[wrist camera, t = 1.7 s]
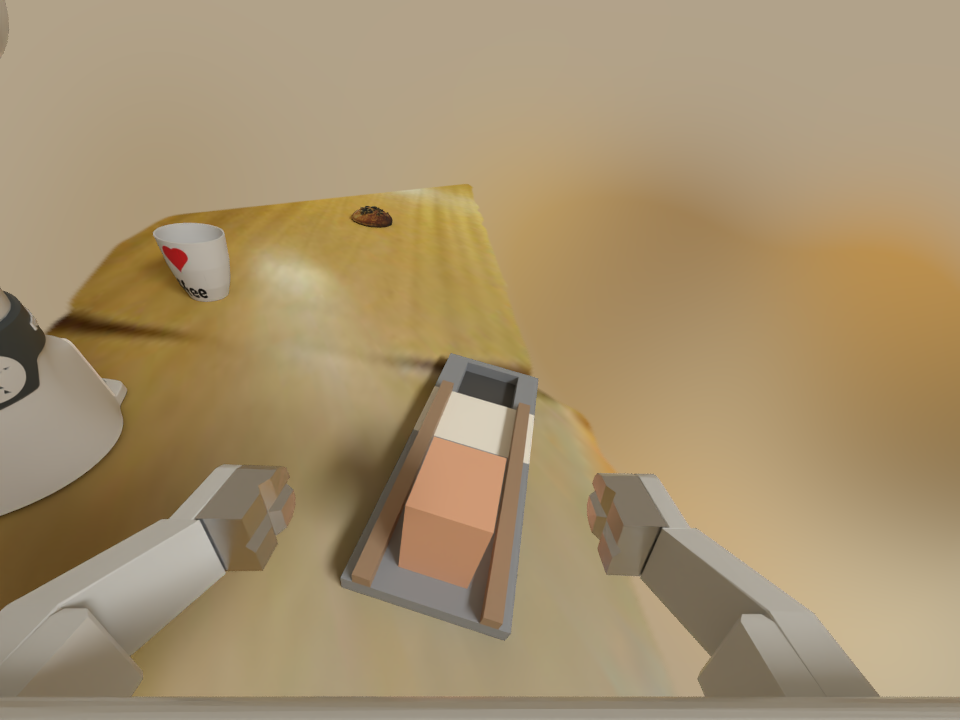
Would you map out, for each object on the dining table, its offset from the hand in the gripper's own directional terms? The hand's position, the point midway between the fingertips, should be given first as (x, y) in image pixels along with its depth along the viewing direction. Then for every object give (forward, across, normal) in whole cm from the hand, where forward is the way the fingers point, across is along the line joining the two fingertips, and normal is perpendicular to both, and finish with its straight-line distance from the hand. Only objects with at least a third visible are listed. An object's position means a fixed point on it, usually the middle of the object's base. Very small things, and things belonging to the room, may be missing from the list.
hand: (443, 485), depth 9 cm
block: (+13, +1, +21) cm, 25 cm away
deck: (+24, -1, +22) cm, 32 cm away
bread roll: (+98, +28, +3) cm, 102 cm away
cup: (+48, +42, +11) cm, 65 cm away
